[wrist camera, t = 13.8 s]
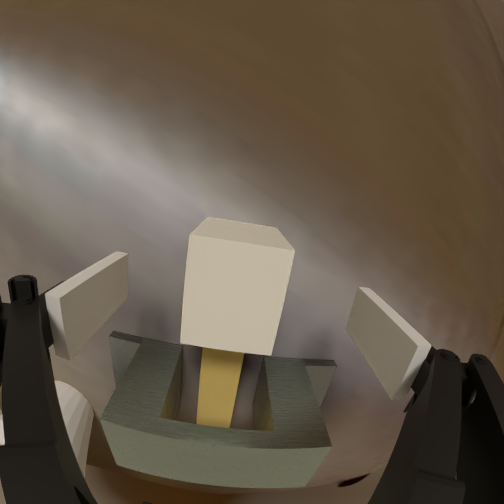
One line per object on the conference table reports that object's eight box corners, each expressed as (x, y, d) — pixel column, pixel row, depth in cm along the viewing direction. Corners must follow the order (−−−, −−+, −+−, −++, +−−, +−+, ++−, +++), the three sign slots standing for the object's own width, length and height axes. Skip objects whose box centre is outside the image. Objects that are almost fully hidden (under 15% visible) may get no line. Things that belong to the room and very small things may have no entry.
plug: (189, 414, 24) (179, 466, 17) (207, 216, 19) (189, 234, 13) (237, 420, 24) (237, 473, 18) (276, 227, 20) (294, 250, 13)
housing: (119, 379, 23) (82, 452, 13) (113, 330, 21) (60, 403, 12) (315, 404, 24) (340, 482, 14) (333, 360, 23) (373, 441, 13)
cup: (54, 346, 22) (-16, 426, 8) (132, 423, 24) (100, 516, 11) (22, 379, 23) (-27, 438, 10) (85, 439, 26) (54, 507, 12)
